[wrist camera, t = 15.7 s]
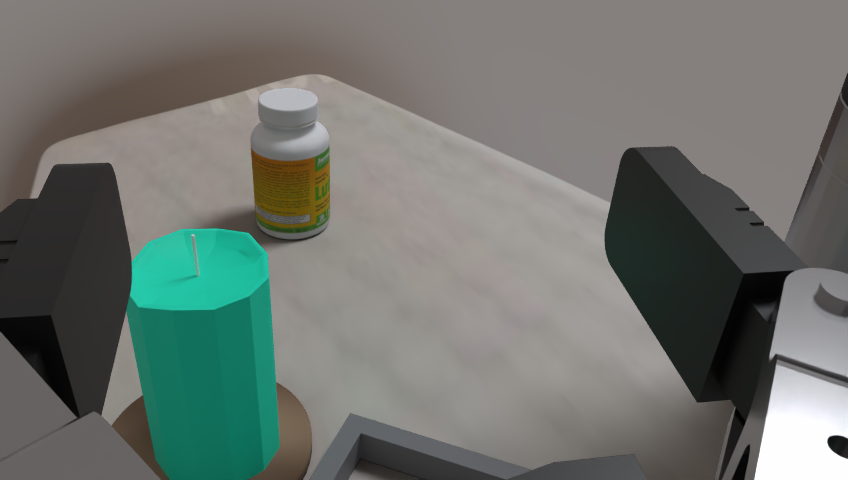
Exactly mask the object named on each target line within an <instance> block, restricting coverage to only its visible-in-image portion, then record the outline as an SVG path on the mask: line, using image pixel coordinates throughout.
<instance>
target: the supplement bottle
mask: <svg viewBox="0 0 848 480" xmlns="http://www.w3.org/2000/svg"><path fill="white" fill-rule="evenodd" d="M318 113H319V111H318V98H317V97H316V95H314V94H313V93H311V92H309V91H306V90H302V89H296V88H280V89H274V90H270V91H267V92H265V93H263V94H261V95H260V97H259V99H258V114H259V118H260V121H261V123H259V124H258V125H257V126H256V127H255V128H254V130H253V132H252V134H251V156H252V169H253V184H254V198H255V213H256V221H257V224H258V226H259V228H260V229H261V230H262V231H264V232H265V233H266V234H268V235H271V236H273V237H276V238H281V239H302V238H307V237H310V236H313V235H316V234H318V233H320V232H321V231H322V230H324V229H325V228H326V227H327V225H328V223H329V220H330V159H329V135H328V132H327V130H326V129H325V127H324V126H323V125H322V124H320V123H319V122H317V120H318V118H319V116H318Z"/></svg>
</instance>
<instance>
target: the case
mask: <svg viewBox="0 0 848 480" xmlns="http://www.w3.org/2000/svg"><path fill="white" fill-rule="evenodd" d="M360 458H361V459H364V460H367V461H370V462H373V463H376V464H379V465H382V466H385V467H388V468H391V469H394V470H397V471H400V472H403V473H406V474H409V475H412V476H415V477H419V478H422V479H425V480H506V479H509V478H512V477H515V476H517V475H520V474H523V473H526V472H529V471H531V470H530V469H527V468H523V467H520V466H517V465H514V464H511V463H508V462H504V461H501V460H498V459H495V458H492V457H488V456H485V455H482V454H479V453H476V452H472V451H469V450H466V449H463V448H460V447H457V446H453V445H450V444H447V443H444V442H441V441H437V440H434V439H431V438H428V437H425V436H421V435H418V434H415V433H412V432H409V431H406V430H402V429H399V428H396V427H393V426H390V425H386V424H383V423H380V422H377V421H374V420H370V419H367V418H364V417H361V416H358V415H355V414H351V413H350V414H349V416H348V418H347V419H346V421H345V423H344V424H343V426H342V427H341V429H340V431H339V432H338V434H337V436H336V437H335V439H334V441H333V442H332V444H331V445H330V447H329V449H328V450H327V452H326V454H325V455H324V457H323V459H322V460H321V462H320V463H319V465H318V467H317V468H316V470H315V472H314V473H313V475H312V476H311V478H310V480H348V479H349V477H350V475H351V474H352V472H353V470H354V468H355V466H356V465H357V463H358V461H359V459H360Z"/></svg>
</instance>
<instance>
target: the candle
mask: <svg viewBox="0 0 848 480" xmlns="http://www.w3.org/2000/svg"><path fill="white" fill-rule="evenodd" d="M126 311H127V316H128V322H129V327H130V332H131V337H132V342H133V347H134V352H135V357H136V362H137V367H138V372H139V378H140V383H141V388H142V393H143V398H144V403H145V408H146V413H147V418H148V423H149V428H150V434H151V439H152V444H153V449H154V454H155V459H156V461H157V463H158V464H159V465H160V467H161V468H162V470H163V471H164V473H165V474H166V475H167V477H168V478H169V480H248V479H250V478H252V477H253V476H255V475H257V474H259V473H260V472H262V471H264V470H265V468H266V467H267V465H268V464H269V462H270V461H271V459H272V458H273V456H274V455H275V453H276V452H277V450H278V449H279V447H280V441H279V421H278V406H277V391H276V375H275V360H274V344H273V329H272V313H271V298H270V282H269V267H268V254H267V252H266V251H265V250H264V249H263V248H262V247H261V246H260V245H259V244H258V243H257V242H256V240H255V239H254V238H253V237H252V236H251V235H250V234H249V233H246V232H239V231H232V230H225V229H219V228H216V229H181V230H179V231H176V232H173V233H171V234H168V235H166V236H163V237H160V238H158V239H155V240H153V241H150V242H148V243H147V245H146V246H145V247H144V248H143V249H142V251H141V252H140V253H139V254H138V255H137V256H136V258H135V259H134V260H133V261H132V285H131V292H130V296H129V301H128V305H127V309H126Z"/></svg>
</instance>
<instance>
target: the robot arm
mask: <svg viewBox="0 0 848 480" xmlns="http://www.w3.org/2000/svg"><path fill="white" fill-rule="evenodd" d="M605 250H606V255H607V258H608V261H609V263H610V265H611V267H612V268H613V270H614V272H615V273H616V275H617V276H618V278H619V279H620V281H621V283H622V284H623V286H624V287H625V289H626V290H627V292H628V294H629V295H630V297H631V298H632V300H633V302H634V303H635V305H636V306H637V308H638V309H639V311H640V313H641V314H642V316H643V317H644V319H645V321H646V322H647V324H648V325H649V327H650V328H651V330H652V332H653V333H654V335H655V336H656V338H657V340H658V341H659V343H660V344H661V346H662V347H663V349H664V351H665V352H666V354H667V355H668V357H669V359H670V360H671V362H672V363H673V365H674V366H675V368H676V370H677V371H678V373H679V374H680V376H681V377H682V379H683V381H684V382H685V384H686V385H687V387H688V389H689V390H690V392H691V393H692V395H693V396H694V398H695V400H696V401H697V403H699V402H709V401H720V400H731V401H732V403H733V404H734V405H735V407H734V410H733V412H732V415H731V417H730V420H729V422H728V425H727V429H726V433H725V437H724V442H723V446H722V450H721V454H720V458H719V462H718V466H717V470H716V474H715V478H714V480H848V74H847V76H846V79H845V82H844V84H843V87H842V90H841V92H840V95H839V97H838V100H837V103H836V105H835V108H834V111H833V113H832V116H831V119H830V121H829V124H828V127H827V129H826V132H825V134H824V137H823V140H822V142H821V145H820V149H819V151H818V154H817V157H816V159H815V162H814V165H813V167H812V170H811V173H810V175H809V178H808V180H807V183H806V186H805V189H804V191H803V194H802V196H801V199H800V202H799V204H798V207H797V210H796V212H795V215H794V218H793V220H792V223H791V226H790V228H789V231H788V234H787V236H786V239H785V241H784V242H783V241H782V240H781V239H780V238H779V237H778V236H777V235H776V234H775V233H774V232H773V231H772V230H771V229H770V228H769V227H768V226H764V222H763V221H762V220H761V219H760V218H759V217H758V216H757V215H756V214H755V213H754V212H753V211H749V207H748V206H747V205H746V204H745V203H744V202H743V200H741V198H740V197H738V195H737V194H735V192H734V191H732V190H731V189H730V188H728V187H726V186H724V185H723V184H721V183H719V182H717V181H715V180H714V179H712V178H710V177H708V176H707V175H705V174H701V172H700V171H699V170H698V169H697V168H696V167H695V166H694V165H693V164H692V163H691V162H690V161H689V160H688V159H687V158H686V157H685V156H684V155H683V154H682V153H681V152H680V151H679V150H678V149H677V148H675V147H640V148H639V147H638V148H629V149H627V150H626V151H625V152H624V154H623V156H622V158H621V161H620V165H619V171H618V174H617V178H616V183H615V187H614V192H613V196H612V201H611V205H610V210H609V214H608V219H607V223H606V228H605ZM131 285H132V261H131V252H130V247H129V242H128V236H127V231H126V226H125V221H124V216H123V211H122V206H121V201H120V196H119V191H118V185H117V180H116V176H115V172H114V170H113V167H112V165H111V164H110V163H86V164H57V165H54V166H53V168H52V170H51V172H50V174H49V176H48V178H47V180H46V182H45V184H44V186H43V189H42V191H41V193H40V195H39V197H38V198H37V199H17V200H16V201H15V202H13V203H12V204H11V205H9V206H8V207H7V208H6V209H4V210H3V211H2V212H0V480H161V479H160V478H159V477H158V476H157V475H156V474H155V473H154V472H153V471H152V469H151V468H150V467H149V466H148V465H147V464H146V463H145V462H144V461H143V460H142V459H141V458H140V456H139V455H138V454H137V453H136V452H135V451H134V450H133V449H132V448H131V447H130V446H129V445H128V444H127V442H126V441H125V440H124V439H123V438H122V437H121V436H120V435H119V434H118V433H117V432H116V431H115V429H114V428H113V427H112V426H111V425H110V424H109V423H108V422H107V421H106V420H105V419H104V418H103V417H102V416H101V414H102V410H103V406H104V402H105V398H106V393H107V389H108V385H109V381H110V376H111V372H112V368H113V364H114V360H115V355H116V351H117V347H118V343H119V339H120V334H121V330H122V326H123V322H124V317H125V313H126V309H127V305H128V301H129V296H130V292H131ZM506 480H647V478H646V476H645V475H644V473H643V471H642V469H641V467H640V465H639V463H638V461H637V459H636V457H635V455H634V454H629V455H620V456H610V457H601V458H591V459H582V460H572V461H563V462H554V463H551V464H548V465H545V466H543V467H540V468H537V469H534V470H531V471H529V472H526V473H523V474H520V475H517V476H515V477H512V478H509V479H506Z"/></svg>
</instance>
